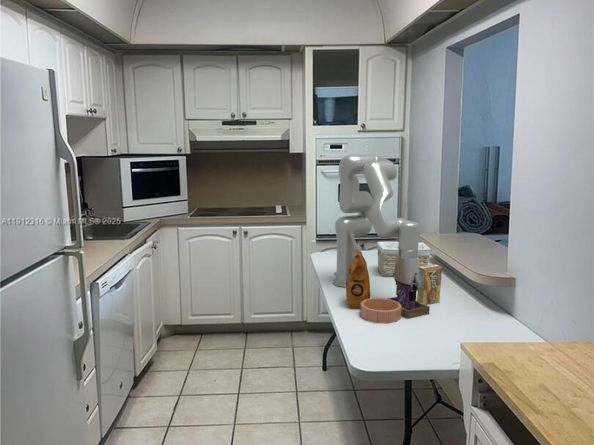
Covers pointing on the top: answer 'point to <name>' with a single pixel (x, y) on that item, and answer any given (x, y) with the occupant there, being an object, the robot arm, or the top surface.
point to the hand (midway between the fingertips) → (405, 297)
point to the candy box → (429, 284)
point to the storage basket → (390, 252)
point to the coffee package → (357, 281)
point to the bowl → (380, 310)
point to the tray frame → (414, 310)
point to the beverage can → (404, 296)
